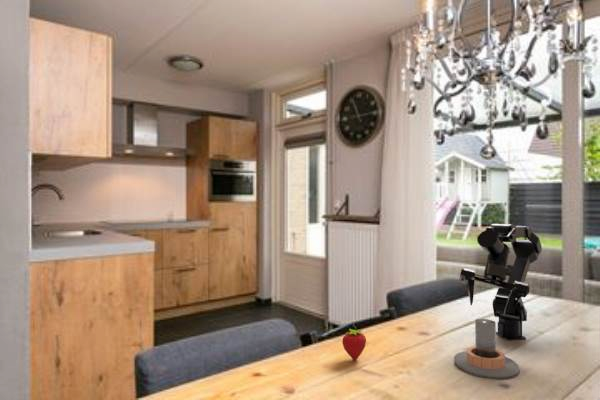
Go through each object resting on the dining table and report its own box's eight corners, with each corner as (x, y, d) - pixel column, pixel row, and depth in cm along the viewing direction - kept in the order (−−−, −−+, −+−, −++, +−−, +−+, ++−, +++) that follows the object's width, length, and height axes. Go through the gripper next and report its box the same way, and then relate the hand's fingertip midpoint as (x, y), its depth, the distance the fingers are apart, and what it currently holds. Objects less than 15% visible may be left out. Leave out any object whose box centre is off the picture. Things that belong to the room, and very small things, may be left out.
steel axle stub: (481, 356, 110) (481, 317, 110) (499, 362, 106) (499, 322, 106) (472, 361, 107) (471, 321, 107) (489, 367, 103) (489, 325, 103)
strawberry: (337, 360, 111) (337, 325, 111) (356, 353, 116) (355, 319, 116) (352, 366, 106) (352, 330, 106) (371, 359, 111) (370, 324, 111)
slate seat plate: (493, 352, 115) (493, 340, 115) (533, 376, 100) (533, 362, 100) (443, 356, 113) (442, 344, 113) (476, 381, 97) (476, 367, 97)
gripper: (467, 244, 118) (456, 293, 112) (537, 260, 110) (529, 314, 105) (464, 256, 127) (454, 302, 122) (528, 272, 120) (521, 321, 114)
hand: (487, 309), depth 116 cm, fingers open, 9 cm apart
